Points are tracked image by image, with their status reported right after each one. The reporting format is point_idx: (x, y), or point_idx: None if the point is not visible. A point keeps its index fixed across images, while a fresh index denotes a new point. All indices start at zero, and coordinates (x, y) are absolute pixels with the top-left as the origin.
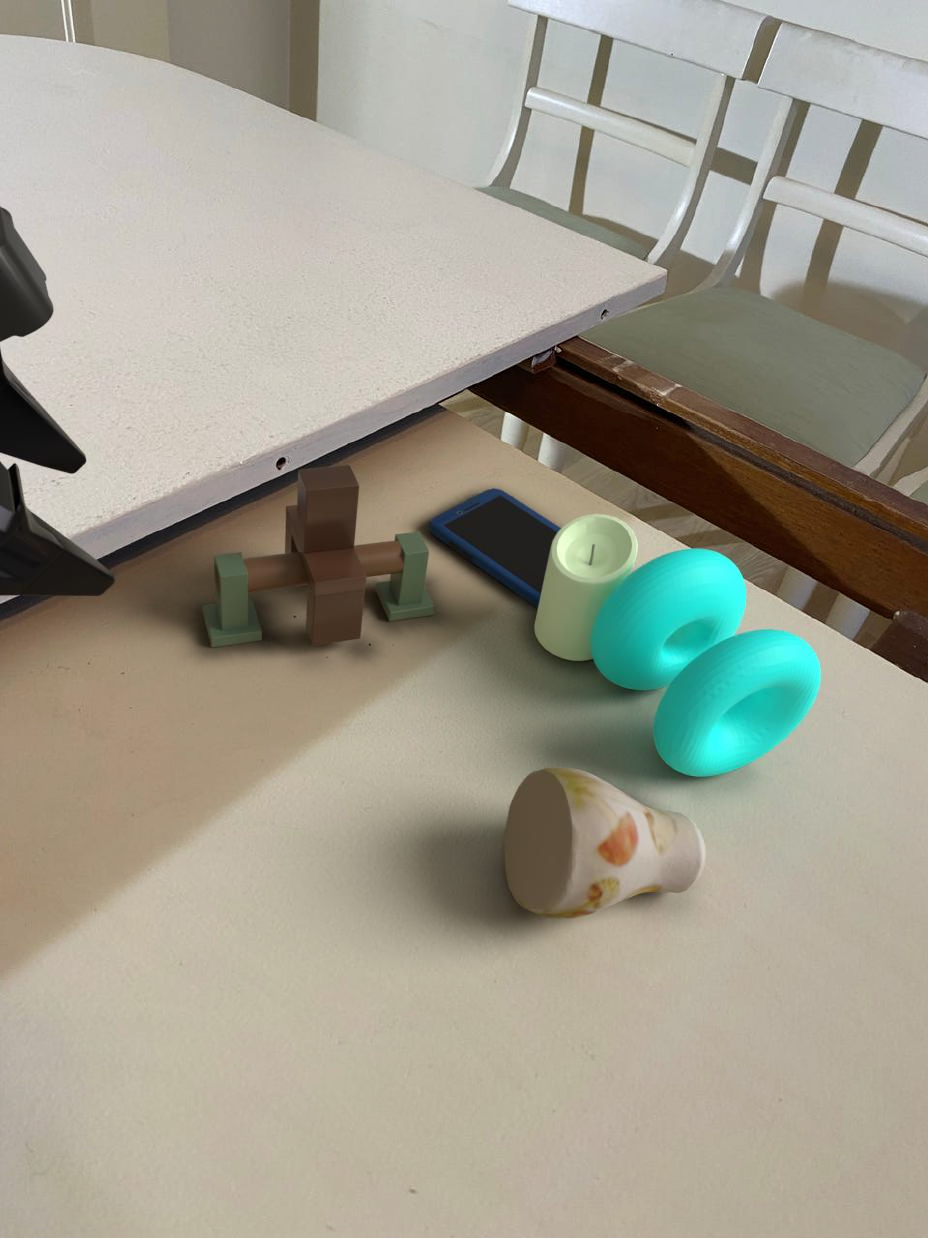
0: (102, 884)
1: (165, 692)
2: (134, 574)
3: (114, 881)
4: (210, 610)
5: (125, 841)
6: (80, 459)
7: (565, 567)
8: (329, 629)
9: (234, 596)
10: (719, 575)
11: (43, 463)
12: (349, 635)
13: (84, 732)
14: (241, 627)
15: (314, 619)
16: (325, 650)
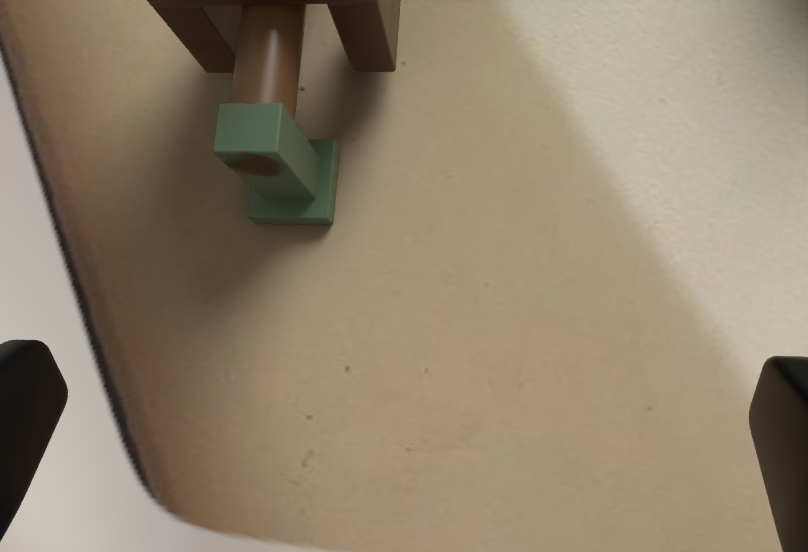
0: None
1: (408, 313)
2: (126, 310)
3: None
4: (264, 206)
5: (699, 429)
6: (33, 360)
7: None
8: (393, 27)
9: (297, 149)
10: None
11: (13, 498)
12: (397, 8)
13: (459, 450)
14: (317, 168)
15: (386, 36)
16: None
